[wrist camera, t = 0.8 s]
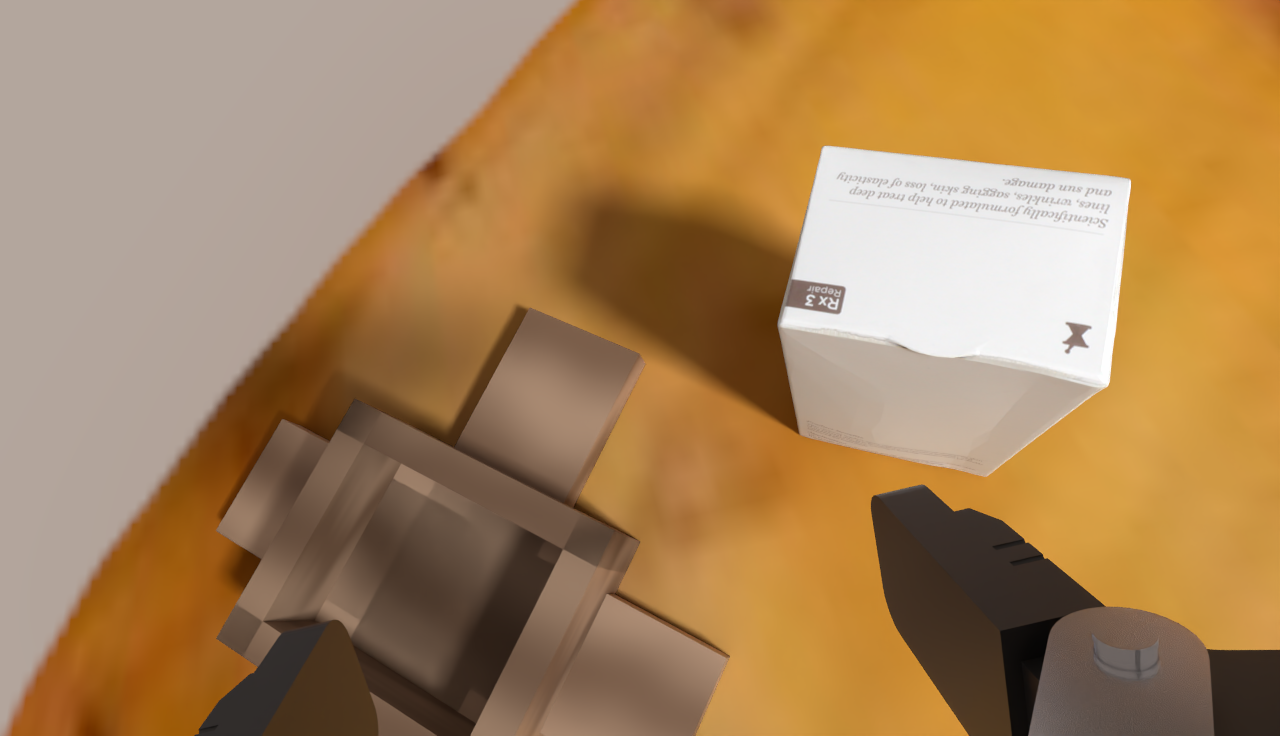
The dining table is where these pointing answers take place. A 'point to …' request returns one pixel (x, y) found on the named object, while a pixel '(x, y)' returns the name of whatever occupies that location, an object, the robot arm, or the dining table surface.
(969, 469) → the skincare box
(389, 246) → the dining table surface
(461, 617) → the cross stand
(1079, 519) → the dining table surface
